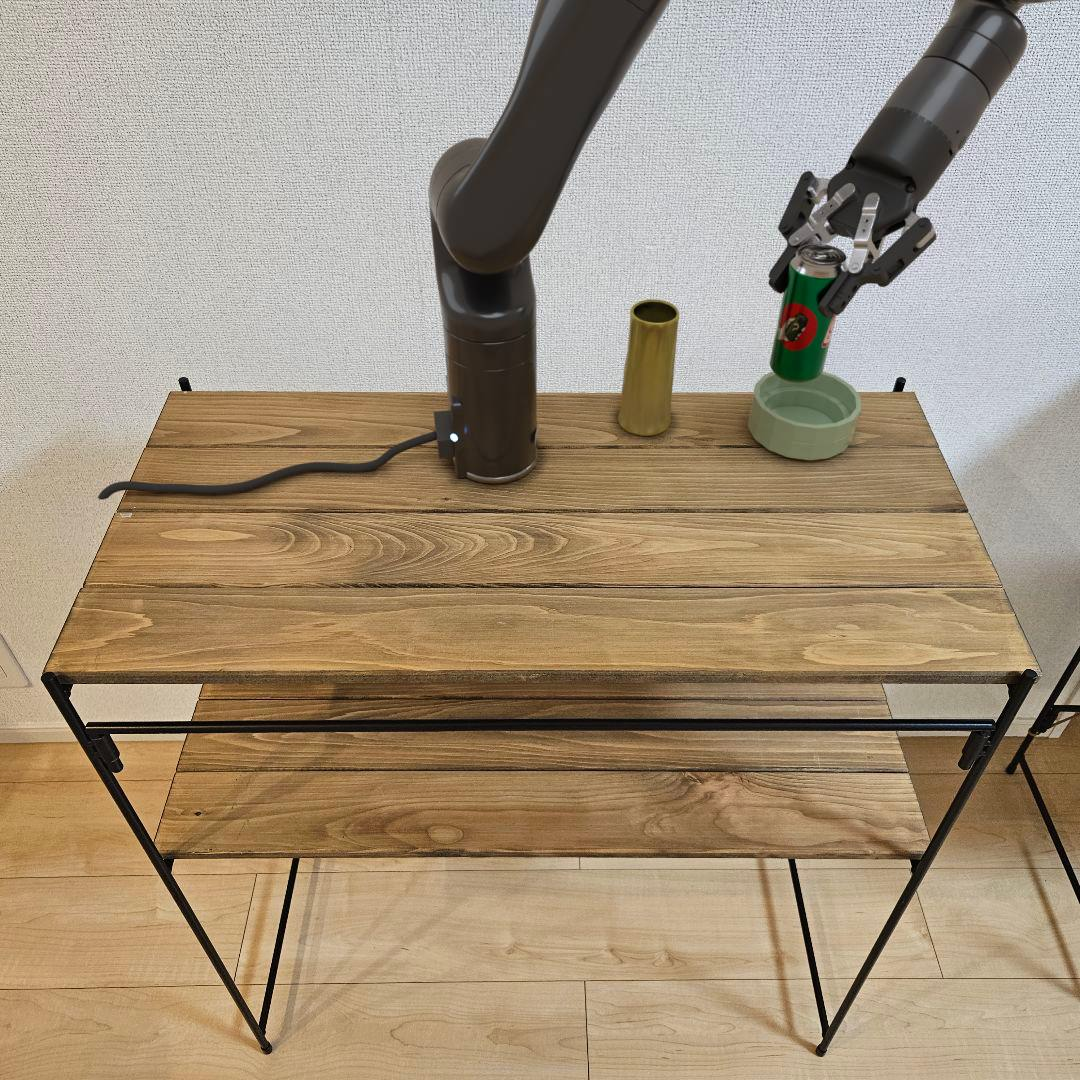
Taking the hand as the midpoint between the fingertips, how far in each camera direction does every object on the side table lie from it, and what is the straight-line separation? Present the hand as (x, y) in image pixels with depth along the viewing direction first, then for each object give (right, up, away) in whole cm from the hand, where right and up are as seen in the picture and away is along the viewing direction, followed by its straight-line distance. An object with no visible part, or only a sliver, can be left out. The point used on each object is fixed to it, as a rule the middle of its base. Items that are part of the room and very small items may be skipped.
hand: (799, 300), depth 80 cm
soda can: (+2, -5, +7) cm, 9 cm away
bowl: (+7, -9, +23) cm, 25 cm away
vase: (-11, -8, +24) cm, 28 cm away
